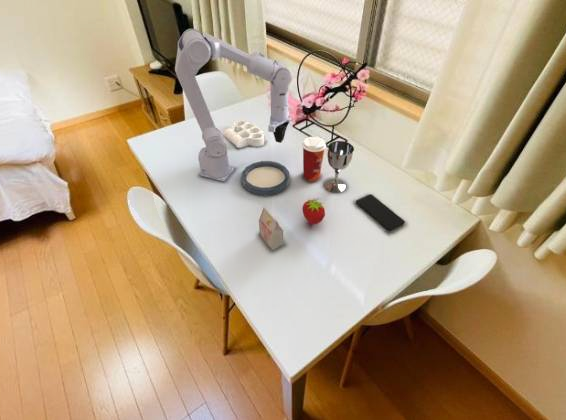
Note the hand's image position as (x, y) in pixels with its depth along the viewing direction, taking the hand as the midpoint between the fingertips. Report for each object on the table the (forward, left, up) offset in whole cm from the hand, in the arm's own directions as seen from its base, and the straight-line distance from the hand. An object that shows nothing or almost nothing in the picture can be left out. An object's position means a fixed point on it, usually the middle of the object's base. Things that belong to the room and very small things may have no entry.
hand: (279, 140), depth 108 cm
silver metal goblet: (+23, -7, -9) cm, 26 cm away
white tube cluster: (-19, +10, -9) cm, 23 cm away
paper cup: (+14, -5, -9) cm, 17 cm away
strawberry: (+21, -27, -9) cm, 35 cm away
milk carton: (+12, -37, -9) cm, 40 cm away
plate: (0, -13, -8) cm, 15 cm away
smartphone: (+39, -15, -8) cm, 43 cm away
